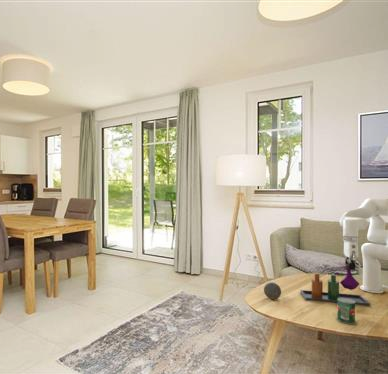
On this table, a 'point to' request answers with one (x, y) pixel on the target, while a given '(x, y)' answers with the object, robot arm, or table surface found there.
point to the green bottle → (333, 288)
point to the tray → (357, 298)
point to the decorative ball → (272, 290)
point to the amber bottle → (317, 287)
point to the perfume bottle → (349, 279)
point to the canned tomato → (346, 310)
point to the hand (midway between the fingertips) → (350, 267)
